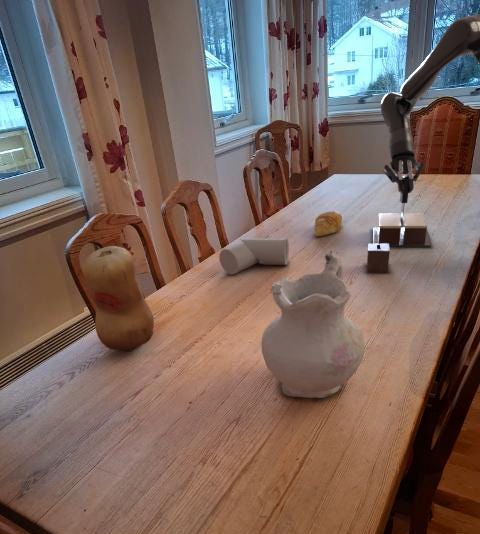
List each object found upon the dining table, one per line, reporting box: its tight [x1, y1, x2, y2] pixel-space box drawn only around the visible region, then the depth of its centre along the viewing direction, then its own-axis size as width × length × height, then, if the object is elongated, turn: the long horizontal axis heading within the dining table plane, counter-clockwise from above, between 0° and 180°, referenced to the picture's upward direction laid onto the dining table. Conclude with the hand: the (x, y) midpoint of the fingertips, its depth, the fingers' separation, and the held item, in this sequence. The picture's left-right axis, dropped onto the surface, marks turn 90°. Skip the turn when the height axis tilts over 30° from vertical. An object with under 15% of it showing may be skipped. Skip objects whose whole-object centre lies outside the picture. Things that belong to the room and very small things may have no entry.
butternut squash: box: [83, 245, 155, 352], centre depth 99 cm, size 14×13×25 cm
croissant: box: [313, 211, 343, 237], centre depth 164 cm, size 21×10×8 cm, turn 147°
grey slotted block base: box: [372, 212, 432, 249], centre depth 149 cm, size 18×18×7 cm
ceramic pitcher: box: [261, 250, 366, 399], centre depth 82 cm, size 22×20×25 cm
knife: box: [399, 176, 410, 229], centre depth 145 cm, size 2×3×17 cm, turn 175°
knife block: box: [366, 242, 391, 274], centre depth 129 cm, size 6×6×7 cm
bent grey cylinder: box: [219, 238, 290, 276], centre depth 138 cm, size 18×10×20 cm
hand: (406, 191), depth 141 cm, fingers closed on knife, 2 cm apart
